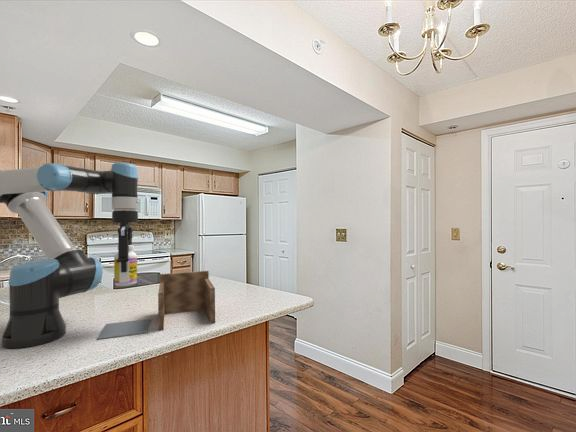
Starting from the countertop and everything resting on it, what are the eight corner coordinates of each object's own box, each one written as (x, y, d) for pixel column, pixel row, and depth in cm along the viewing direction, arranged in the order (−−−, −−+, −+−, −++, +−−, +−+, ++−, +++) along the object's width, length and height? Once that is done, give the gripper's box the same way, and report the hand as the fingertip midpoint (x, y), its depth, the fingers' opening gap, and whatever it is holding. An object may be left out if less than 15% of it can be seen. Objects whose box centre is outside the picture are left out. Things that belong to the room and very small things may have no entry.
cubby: (158, 330, 99) (158, 284, 99) (160, 313, 117) (159, 274, 117) (215, 323, 106) (214, 279, 106) (208, 307, 124) (208, 270, 124)
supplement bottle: (127, 287, 97) (127, 246, 97) (109, 286, 99) (109, 246, 99) (141, 282, 104) (141, 244, 104) (124, 282, 105) (124, 244, 105)
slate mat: (96, 340, 92) (97, 338, 92) (106, 325, 105) (106, 323, 105) (148, 333, 97) (148, 331, 97) (150, 319, 110) (150, 318, 110)
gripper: (134, 209, 94) (135, 284, 93) (140, 211, 112) (141, 274, 112) (106, 209, 91) (107, 287, 91) (117, 211, 109) (117, 276, 109)
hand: (125, 280), depth 101 cm, fingers closed on supplement bottle, 7 cm apart
